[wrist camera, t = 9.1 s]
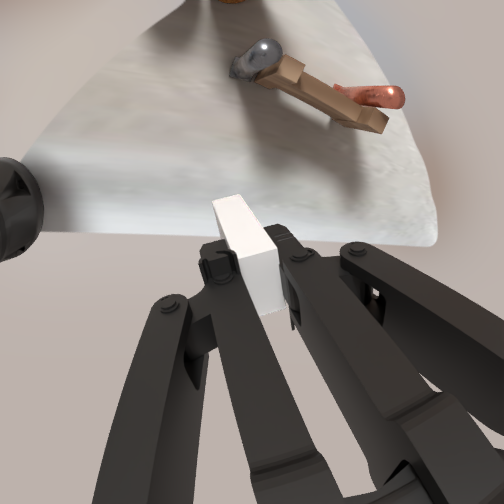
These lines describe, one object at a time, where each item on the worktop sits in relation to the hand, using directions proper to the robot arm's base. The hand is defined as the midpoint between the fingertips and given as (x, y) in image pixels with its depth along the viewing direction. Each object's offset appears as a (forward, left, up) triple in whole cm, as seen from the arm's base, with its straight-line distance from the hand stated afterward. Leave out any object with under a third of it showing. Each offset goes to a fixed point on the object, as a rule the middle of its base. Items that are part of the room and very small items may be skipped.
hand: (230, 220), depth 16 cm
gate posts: (+9, +13, -24) cm, 29 cm away
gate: (+10, +11, -24) cm, 28 cm away
